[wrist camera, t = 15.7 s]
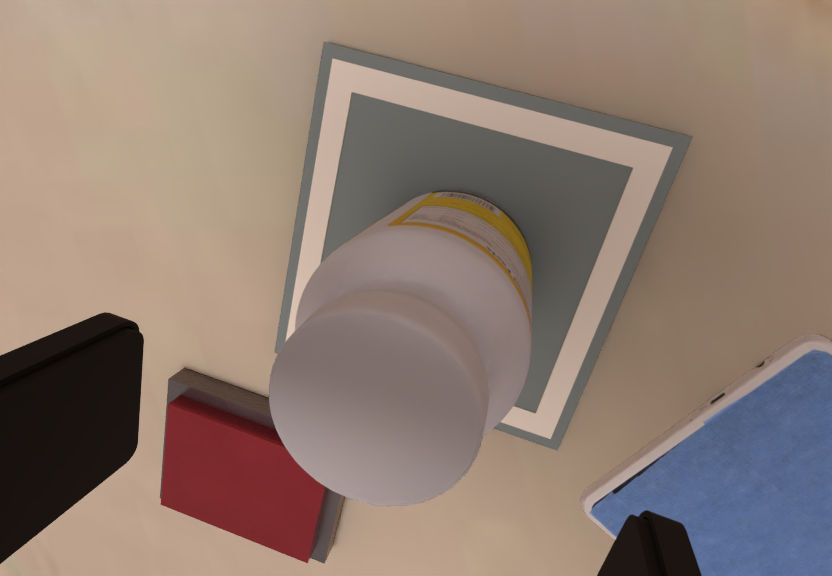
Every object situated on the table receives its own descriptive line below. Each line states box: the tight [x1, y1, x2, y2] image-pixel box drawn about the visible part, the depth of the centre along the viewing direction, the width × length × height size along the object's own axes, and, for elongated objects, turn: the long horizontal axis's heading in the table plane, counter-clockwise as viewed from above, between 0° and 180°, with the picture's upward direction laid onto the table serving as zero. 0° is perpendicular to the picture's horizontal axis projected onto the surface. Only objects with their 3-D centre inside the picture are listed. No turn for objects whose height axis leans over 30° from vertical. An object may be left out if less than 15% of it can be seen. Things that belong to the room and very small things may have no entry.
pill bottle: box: [269, 190, 532, 506], centre depth 16 cm, size 6×6×12 cm
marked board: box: [275, 42, 692, 450], centre depth 21 cm, size 14×14×1 cm
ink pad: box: [160, 368, 345, 563], centre depth 27 cm, size 10×8×2 cm
